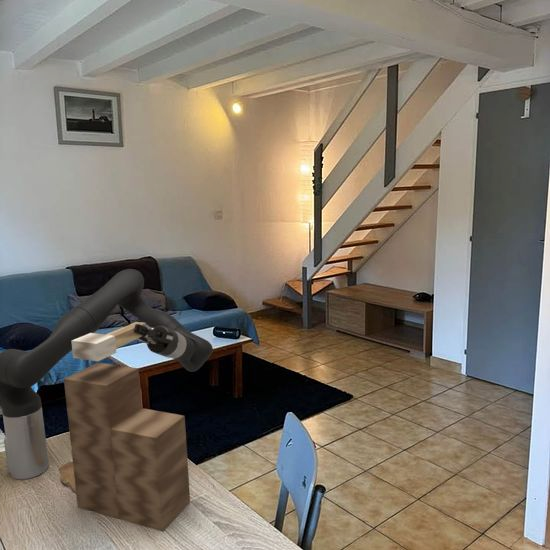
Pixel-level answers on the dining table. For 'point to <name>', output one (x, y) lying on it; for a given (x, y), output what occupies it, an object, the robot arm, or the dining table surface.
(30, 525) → the dining table surface
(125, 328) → the mallet
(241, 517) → the dining table surface
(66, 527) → the dining table surface
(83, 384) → the stepped stand
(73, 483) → the pottery shard
